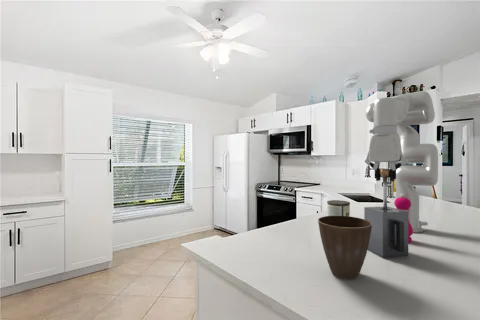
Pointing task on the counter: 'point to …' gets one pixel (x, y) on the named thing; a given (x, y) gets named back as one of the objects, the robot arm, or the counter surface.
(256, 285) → the counter surface
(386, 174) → the plunger
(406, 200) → the pepper mill
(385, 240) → the press
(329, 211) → the coffee can
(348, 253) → the plant pot
